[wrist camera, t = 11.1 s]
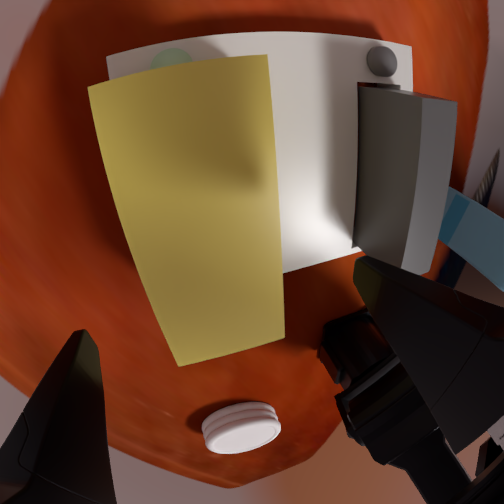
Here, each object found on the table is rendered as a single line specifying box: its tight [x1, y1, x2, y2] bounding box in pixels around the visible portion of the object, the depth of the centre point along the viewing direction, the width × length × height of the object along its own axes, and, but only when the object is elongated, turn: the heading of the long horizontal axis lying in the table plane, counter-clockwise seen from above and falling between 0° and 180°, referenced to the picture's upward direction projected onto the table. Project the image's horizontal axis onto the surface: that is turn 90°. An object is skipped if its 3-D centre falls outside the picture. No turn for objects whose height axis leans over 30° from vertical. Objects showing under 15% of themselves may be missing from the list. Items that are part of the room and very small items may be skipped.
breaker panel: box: [106, 32, 413, 273], centre depth 17 cm, size 18×15×3 cm
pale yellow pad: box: [87, 54, 285, 367], centre depth 14 cm, size 6×14×4 cm, turn 7°
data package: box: [438, 187, 504, 291], centre depth 22 cm, size 12×4×12 cm, turn 67°
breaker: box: [353, 86, 457, 275], centre depth 16 cm, size 3×11×5 cm, turn 7°
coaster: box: [202, 402, 281, 454], centre depth 34 cm, size 10×10×4 cm
